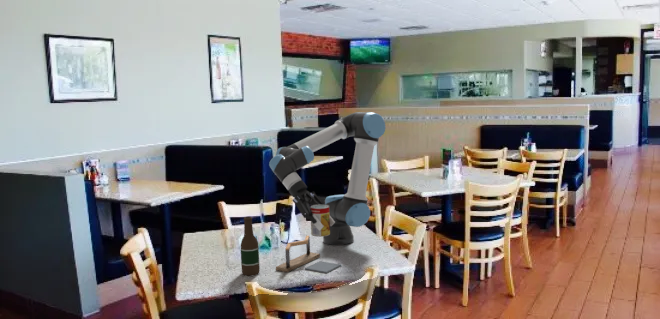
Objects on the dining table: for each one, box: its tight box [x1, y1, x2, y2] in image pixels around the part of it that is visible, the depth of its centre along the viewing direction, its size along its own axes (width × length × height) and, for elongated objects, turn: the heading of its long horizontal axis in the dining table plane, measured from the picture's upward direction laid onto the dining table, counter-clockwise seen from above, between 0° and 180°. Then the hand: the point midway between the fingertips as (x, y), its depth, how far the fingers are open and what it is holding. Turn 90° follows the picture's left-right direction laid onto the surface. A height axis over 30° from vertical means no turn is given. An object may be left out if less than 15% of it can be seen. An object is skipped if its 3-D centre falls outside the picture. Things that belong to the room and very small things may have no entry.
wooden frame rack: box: [275, 235, 321, 273], centre depth 249 cm, size 24×6×10 cm, turn 146°
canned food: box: [310, 205, 330, 238], centre depth 239 cm, size 8×8×12 cm
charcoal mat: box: [304, 260, 342, 274], centre depth 242 cm, size 11×11×1 cm
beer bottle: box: [240, 215, 261, 277], centre depth 237 cm, size 8×8×24 cm
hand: (327, 226), depth 238 cm, fingers closed on canned food, 8 cm apart
